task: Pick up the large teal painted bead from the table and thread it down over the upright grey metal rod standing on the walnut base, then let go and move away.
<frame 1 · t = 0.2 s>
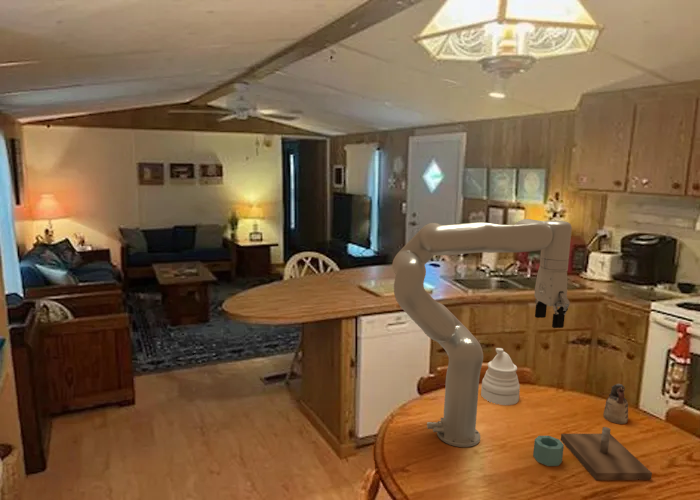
hand: (548, 322, 150), 36 cm above the table, tool pointing down, fingers open, 9 cm apart
figurine: (615, 419, 169), on the table
bead: (547, 458, 145), on the table
honey pot: (499, 397, 183), on the table
rod stand: (602, 458, 146), on the table
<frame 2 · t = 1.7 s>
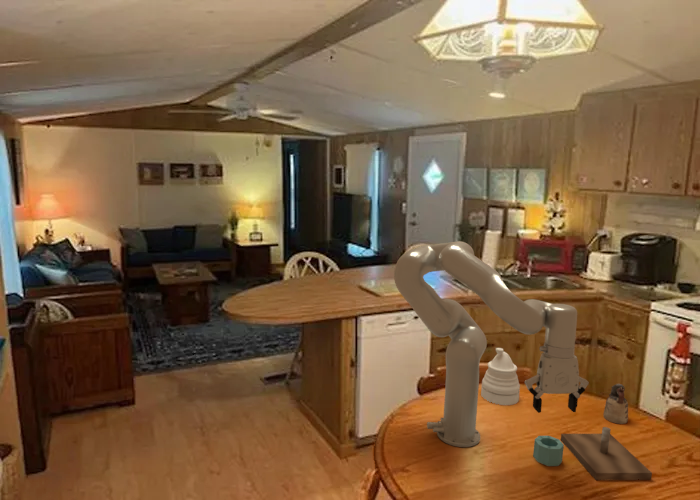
hand: (554, 410, 142), 15 cm above the table, tool pointing down, fingers open, 9 cm apart
nothing on the table moved.
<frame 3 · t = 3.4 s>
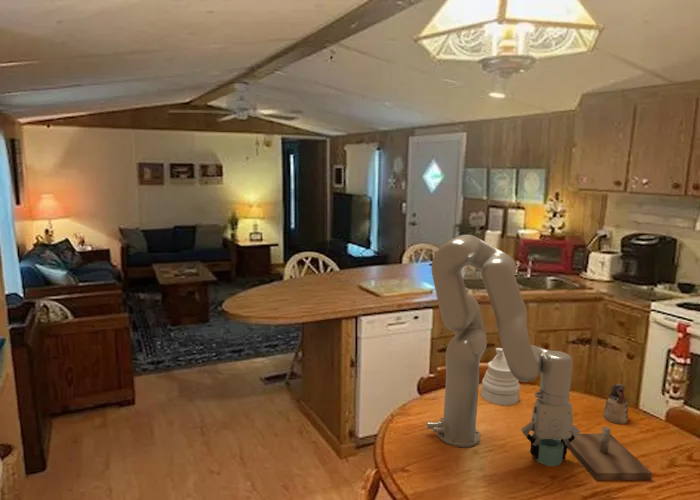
hand: (548, 456, 144), 1 cm above the table, tool pointing down, fingers closed on bead, 7 cm apart
bead: (547, 458, 145), on the table, touching gripper
everything else where it was.
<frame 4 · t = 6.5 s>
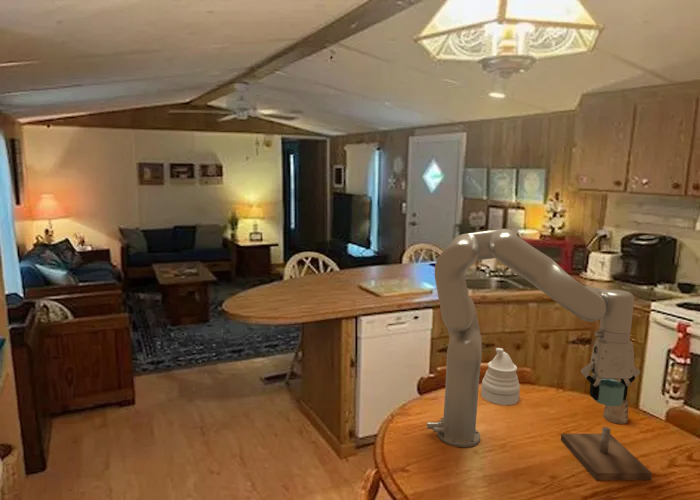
hand: (607, 397, 142), 18 cm above the table, tool pointing down, fingers closed on bead, 7 cm apart
bead: (607, 400, 143), point 18 cm above the table, touching gripper
everything else where it was.
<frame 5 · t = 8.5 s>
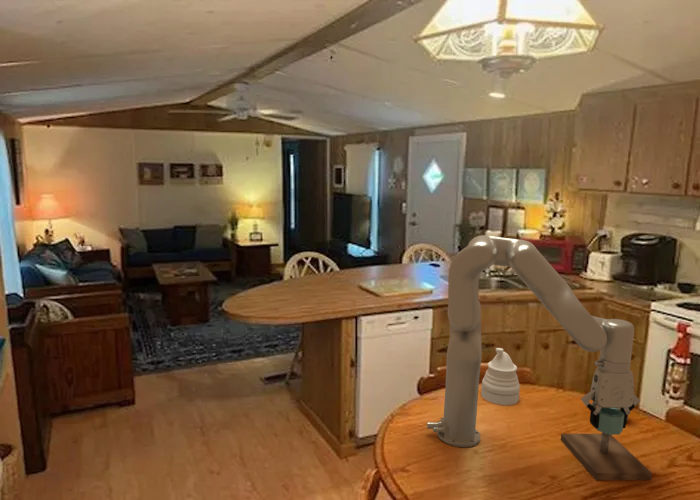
hand: (607, 425, 144), 10 cm above the table, tool pointing down, fingers closed on bead, 7 cm apart
bead: (607, 428, 144), point 9 cm above the table, touching gripper
everything else where it was.
when the fingers open (5 cm above the table, at t = 10.0 s): bead drops 2 cm, resting on rod stand.
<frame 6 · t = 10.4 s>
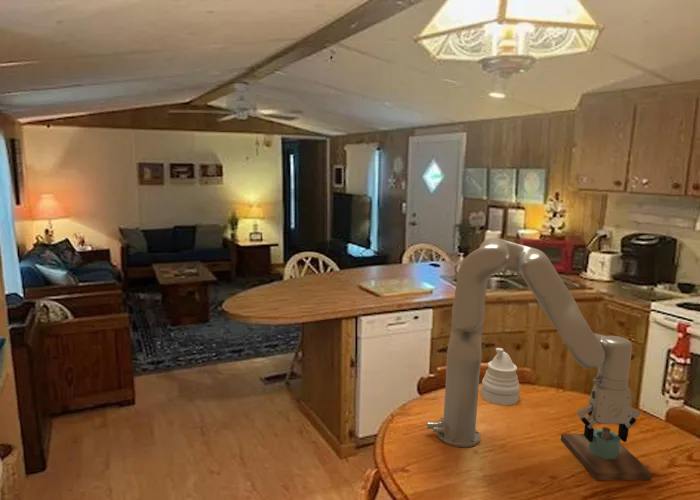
hand: (605, 439, 145), 6 cm above the table, tool pointing down, fingers open, 9 cm apart
bead: (603, 452, 145), point 2 cm above the table, touching rod stand
everything else where it was.
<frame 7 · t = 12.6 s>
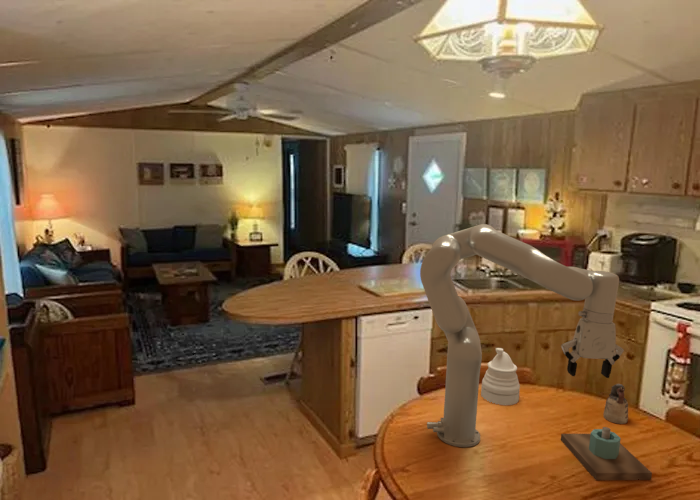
hand: (588, 375, 145), 23 cm above the table, tool pointing down, fingers open, 9 cm apart
nothing on the table moved.
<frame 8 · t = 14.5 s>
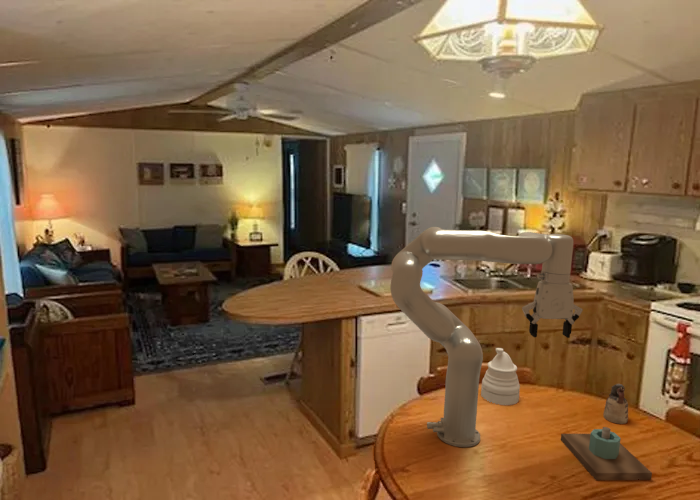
hand: (549, 336, 149), 32 cm above the table, tool pointing down, fingers open, 9 cm apart
nothing on the table moved.
at the end: bead 0.1 cm off-centre on the rod stand, point 2.0 cm above the rod stand's base; the gripper is holding nothing; bead tilted 0° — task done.
